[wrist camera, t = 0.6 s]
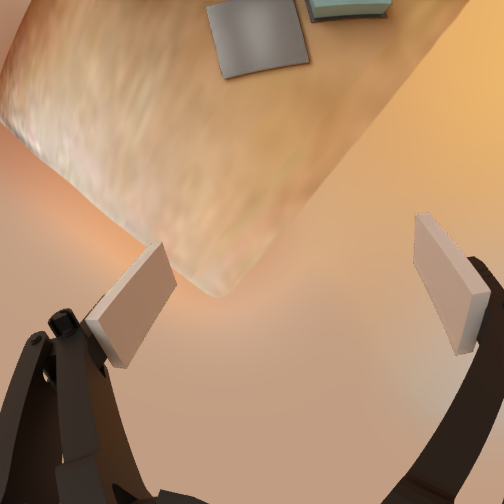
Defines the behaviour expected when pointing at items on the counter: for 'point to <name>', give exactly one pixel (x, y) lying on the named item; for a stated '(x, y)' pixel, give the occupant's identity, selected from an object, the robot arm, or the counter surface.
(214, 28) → the coaster
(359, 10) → the teal square frame
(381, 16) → the stand
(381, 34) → the counter surface
